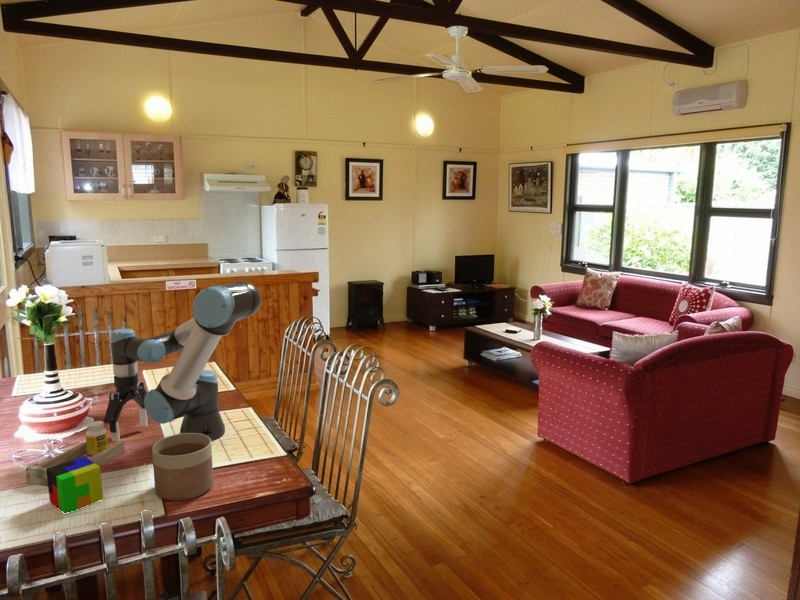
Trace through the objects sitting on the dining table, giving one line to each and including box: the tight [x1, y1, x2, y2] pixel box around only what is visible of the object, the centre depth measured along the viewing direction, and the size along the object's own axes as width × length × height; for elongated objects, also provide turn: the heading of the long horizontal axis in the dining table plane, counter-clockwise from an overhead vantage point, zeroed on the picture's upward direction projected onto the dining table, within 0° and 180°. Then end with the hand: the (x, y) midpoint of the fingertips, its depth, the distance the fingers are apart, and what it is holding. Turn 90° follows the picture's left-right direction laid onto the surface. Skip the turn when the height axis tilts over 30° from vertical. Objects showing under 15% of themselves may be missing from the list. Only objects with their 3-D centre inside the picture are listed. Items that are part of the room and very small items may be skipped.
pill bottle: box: [85, 420, 109, 459], centre depth 191 cm, size 6×6×11 cm
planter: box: [151, 433, 214, 501], centre depth 170 cm, size 16×16×14 cm
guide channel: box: [25, 440, 125, 488], centre depth 184 cm, size 12×26×5 cm, turn 164°
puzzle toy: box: [46, 456, 104, 513], centre depth 163 cm, size 10×10×10 cm
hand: (130, 432), depth 206 cm, fingers open, 13 cm apart
